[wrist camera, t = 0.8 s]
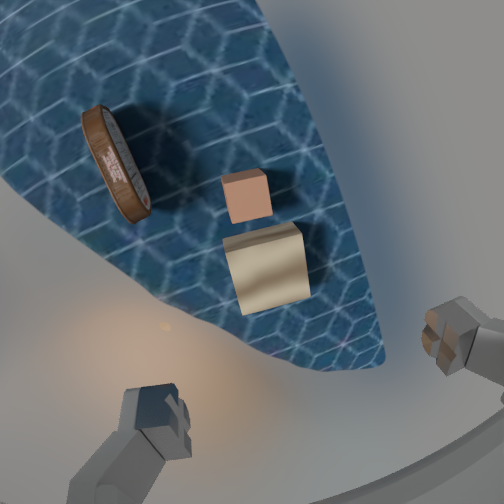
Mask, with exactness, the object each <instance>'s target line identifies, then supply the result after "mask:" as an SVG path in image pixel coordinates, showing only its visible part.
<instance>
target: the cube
mask: <svg viewBox="0 0 504 504" xmlns="http://www.w3.org/2000/svg"><path fill="white" fill-rule="evenodd" d="M221 180H222V184H223V189H224V194H225V198H226V203H227V207H228V212H229V215H230V218H231V221H232V224H234V223H239V222H243V221H247V220H252V219H256V218H261V217H265V216H270V215H273V213H272V207H271V201H270V195H269V189H268V183H267V177H266V174H264V173H263V172H262V171H261V170H260V169H259V168H256V169H251V170H246V171H242V172H237V173H232V174H228V175H223V176H221Z"/></svg>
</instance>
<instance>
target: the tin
mask: <svg viewBox="0 0 504 504" xmlns="http://www.w3.org/2000/svg"><path fill="white" fill-rule="evenodd" d="M81 124H82V129H83V133H84V136H85V139H86V141H87V144H88V146H89V148H90V150H91V153H92V155H93V157H94V159H95V162H96V164H97V166H98V168H99V170H100V172H101V174H102V177H103V179H104V181H105V183H106V185H107V187H108V189H109V191H110V193H111V195H112V198H113V200H114V201H115V203H116V205H117V207H118V209H119V210H120V212H121V213H122V215H123V216H124V217H125V219H126V220H127V221H128V222H129V223H131V224H136V223H137V222H138V221H140V220H142V219H144V218H146V217H148V216H150V214H151V208H152V204H151V199H150V196H149V193H148V190H147V188H146V185H145V183H144V181H143V179H142V176H141V174H140V172H139V170H138V167H137V165H136V163H135V161H134V158H133V156H132V154H131V152H130V149H129V147H128V145H127V143H126V140H125V138H124V136H123V134H122V132H121V129H120V127H119V125H118V123H117V122H116V120H115V118H114V116H113V114H112V113H111V112H110V110H109V109H108V108H107V107H105V106H103V105H97V106H95V107H93V108H92V109H90V110H88V111H86V112H83V113H82V115H81Z"/></svg>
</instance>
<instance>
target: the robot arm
mask: <svg viewBox="0 0 504 504" xmlns="http://www.w3.org/2000/svg"><path fill="white" fill-rule="evenodd" d="M424 320H425V322H426V323H427V325H426V326H425V328H424V329H423V331H422V337H421V339H422V344H423V347H424V349H425V351H426V352H427V354H428V355H429V356H431V357H434V358H436V364H437V366H438V367H439V368H440V369H441V370H442V372H443V373H444V374H445V375H446V376H448V375H451V374H453V373H454V372H456V371H458V370H460V369H462V368H464V367H465V368H466V369H468V370H470V371H472V372H474V373H476V374H479V375H481V376H483V377H485V378H487V379H489V380H491V381H493V382H496V383H498V384H500V385H502V386H504V320H500V319H497V318H493V319H490V318H489V317H488V316H487V315H486V314H485V313H483V312H482V311H481V310H480V309H479V308H477V307H476V306H475V305H474V304H473V303H471V302H470V301H469V300H468V299H467V298H465V297H463V296H459V297H457V298H455V299H453V300H451V301H449V302H446V303H444V304H441V305H439V306H437V307H434V308H432V309H430V310H428V311H427V312H426V314H425V319H424ZM501 402H502V403H503V404H504V392H503V394H502V396H501ZM189 429H190V418H189V413H188V409H187V407H186V404H185V402H184V400H182V399H180V398H178V389H177V388H176V386H175V384H172V383H170V384H163V385H155V386H147V387H141V388H132V389H126V391H125V392H124V395H123V401H122V406H121V413H120V419H119V425H118V431H114V432H113V433H112V434H111V435H110V436H109V437H108V438H107V439H106V441H105V442H104V443H103V444H102V445H101V446H100V447H99V449H98V450H97V451H96V452H95V453H94V454H93V455H92V457H91V458H90V459H89V460H88V461H87V462H86V463H85V465H84V466H83V467H82V468H81V469H80V470H79V471H78V473H77V474H76V475H75V476H74V477H73V478H72V479H71V481H70V484H69V490H68V497H67V503H66V504H142V502H143V501H144V499H145V497H146V496H147V494H148V492H149V490H150V489H151V487H152V485H153V484H154V482H155V480H156V478H157V477H158V475H159V473H160V472H161V470H162V468H163V466H164V465H165V463H166V462H165V461H168V460H176V459H183V458H190V457H192V450H191V439H190V437H189V436H188V434H187V432H188V431H189ZM0 504H6V503H3V502H0ZM310 504H504V408H503V409H501V410H500V411H498V412H497V413H496V414H494V415H493V416H491V417H490V418H489V419H487V420H486V421H484V422H483V423H481V424H480V425H479V426H477V427H476V428H474V429H473V430H471V431H470V432H468V433H466V434H465V435H463V436H462V437H460V438H458V439H457V440H455V441H453V442H452V443H450V444H448V445H447V446H445V447H443V448H442V449H440V450H438V451H436V452H434V453H433V454H431V455H429V456H427V457H425V458H423V459H421V460H420V461H417V462H415V463H413V464H411V465H409V466H407V467H405V468H403V469H401V470H399V471H397V472H395V473H392V474H390V475H388V476H386V477H384V478H381V479H379V480H376V481H374V482H371V483H369V484H366V485H364V486H361V487H358V488H356V489H353V490H350V491H347V492H345V493H342V494H339V495H336V496H333V497H330V498H327V499H323V500H320V501H317V502H313V503H310Z"/></svg>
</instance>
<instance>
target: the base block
mask: <svg viewBox="0 0 504 504" xmlns="http://www.w3.org/2000/svg"><path fill="white" fill-rule="evenodd" d="M223 244H224V249H225V254H226V257H227V261H228V265H229V268H230V272H231V276H232V279H233V283H234V287H235V290H236V294H237V297H238V301H239V305H240V308H241V312H242V315H247V314H251V313H254V312H258V311H262V310H266V309H269V308H273V307H277V306H280V305H284V304H288V303H291V302H295V301H298V300H302V299H305V298H309V297H311V296H310V288H309V280H308V272H307V265H306V258H305V250H304V243H303V236H302V233H301V232H300V230H299V229H298V228H297V227H296V226H295V224H294V223H293V222H292V221H291V222H287V223H283V224H279V225H275V226H271V227H267V228H263V229H259V230H255V231H251V232H247V233H243V234H239V235H235V236H231V237H228V238H224V239H223Z"/></svg>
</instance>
